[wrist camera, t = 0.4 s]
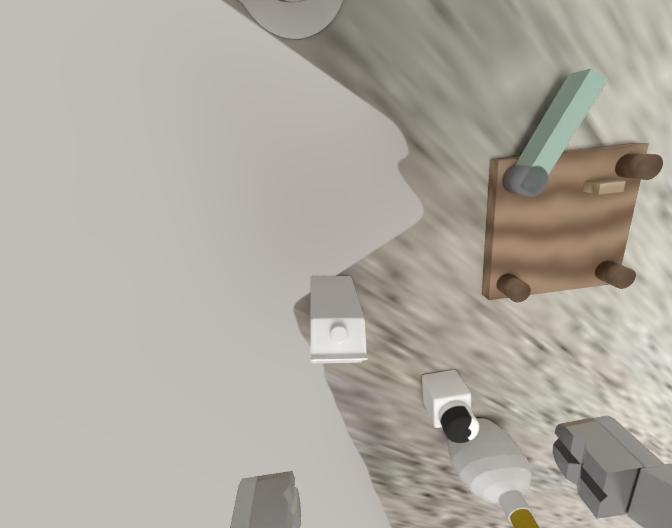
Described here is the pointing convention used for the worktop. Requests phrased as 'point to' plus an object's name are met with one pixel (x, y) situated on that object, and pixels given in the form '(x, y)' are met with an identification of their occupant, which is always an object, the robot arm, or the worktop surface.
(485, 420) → the soap bottle
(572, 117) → the hinged leg
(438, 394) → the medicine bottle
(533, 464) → the worktop surface
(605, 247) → the stool seat
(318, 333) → the milk carton
